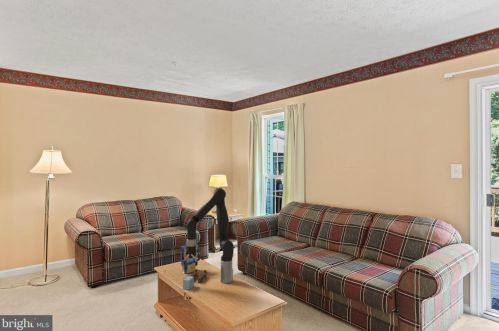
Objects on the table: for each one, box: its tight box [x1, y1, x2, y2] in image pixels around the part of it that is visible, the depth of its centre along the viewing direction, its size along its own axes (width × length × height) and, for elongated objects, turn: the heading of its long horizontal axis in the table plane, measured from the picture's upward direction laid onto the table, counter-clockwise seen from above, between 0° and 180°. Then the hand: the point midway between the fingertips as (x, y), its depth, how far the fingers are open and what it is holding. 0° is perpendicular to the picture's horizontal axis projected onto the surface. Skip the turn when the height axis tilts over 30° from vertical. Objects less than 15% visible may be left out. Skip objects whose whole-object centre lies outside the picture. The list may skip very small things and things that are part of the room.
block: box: [182, 275, 195, 291], centre depth 231 cm, size 5×8×7 cm, turn 164°
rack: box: [190, 268, 207, 284], centre depth 247 cm, size 10×14×6 cm
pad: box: [182, 274, 199, 280], centre depth 251 cm, size 9×9×1 cm
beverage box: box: [180, 245, 197, 274], centre depth 266 cm, size 7×11×22 cm, turn 132°
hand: (190, 265), depth 236 cm, fingers open, 8 cm apart
